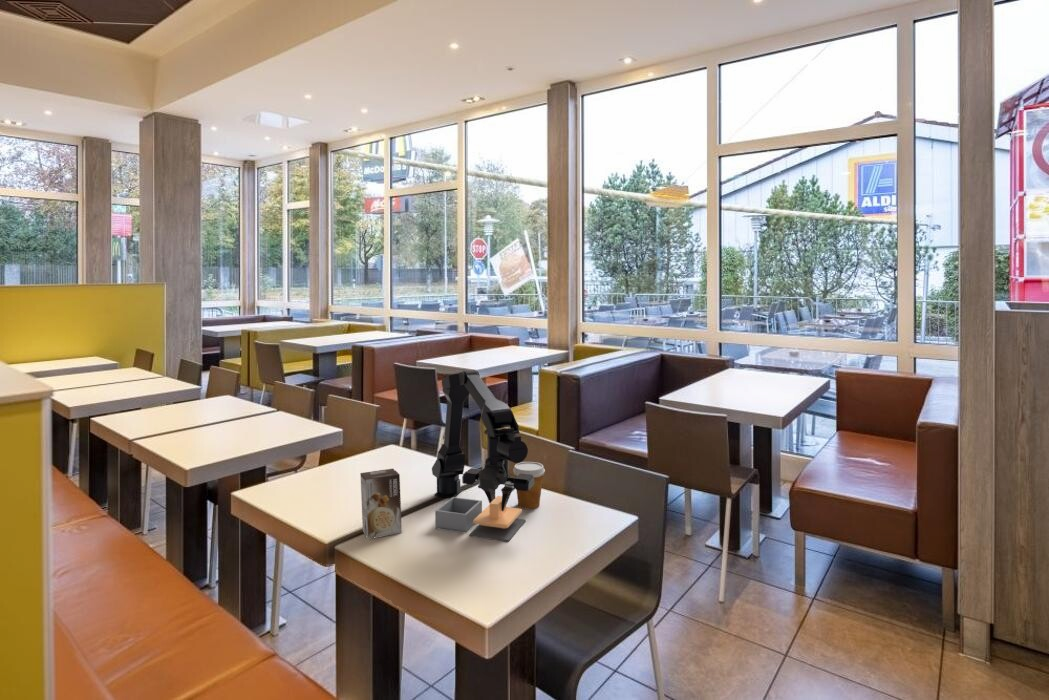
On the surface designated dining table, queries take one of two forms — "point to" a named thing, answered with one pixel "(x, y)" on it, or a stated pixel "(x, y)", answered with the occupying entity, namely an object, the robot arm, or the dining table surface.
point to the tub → (457, 514)
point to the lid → (497, 515)
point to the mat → (498, 531)
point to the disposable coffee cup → (533, 495)
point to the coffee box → (381, 503)
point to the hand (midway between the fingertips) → (498, 510)
